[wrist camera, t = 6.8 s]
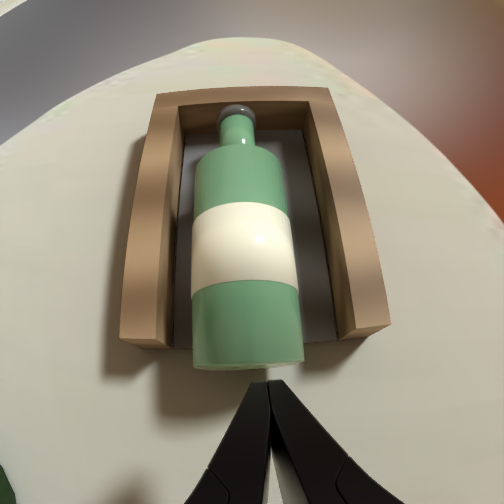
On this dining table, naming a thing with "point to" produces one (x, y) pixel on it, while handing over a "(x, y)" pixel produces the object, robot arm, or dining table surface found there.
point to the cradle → (298, 205)
